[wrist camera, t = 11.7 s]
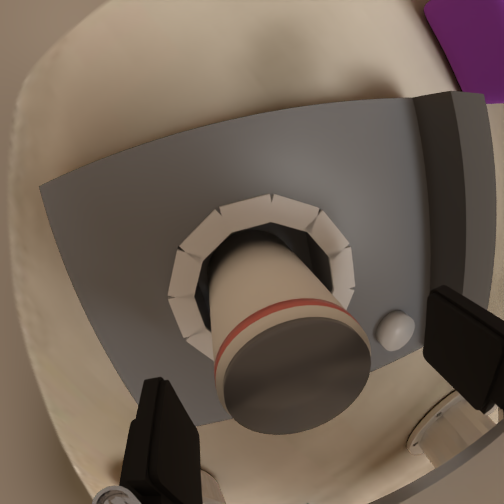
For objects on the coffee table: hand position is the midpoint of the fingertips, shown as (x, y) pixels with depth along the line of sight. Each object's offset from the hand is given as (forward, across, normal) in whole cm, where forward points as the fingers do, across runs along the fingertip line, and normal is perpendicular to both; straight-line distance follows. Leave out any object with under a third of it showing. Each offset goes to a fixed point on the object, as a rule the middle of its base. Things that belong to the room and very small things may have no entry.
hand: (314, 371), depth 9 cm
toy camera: (+10, -24, -15) cm, 29 cm away
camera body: (+10, -2, -1) cm, 10 cm away
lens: (+8, +1, -1) cm, 9 cm away
